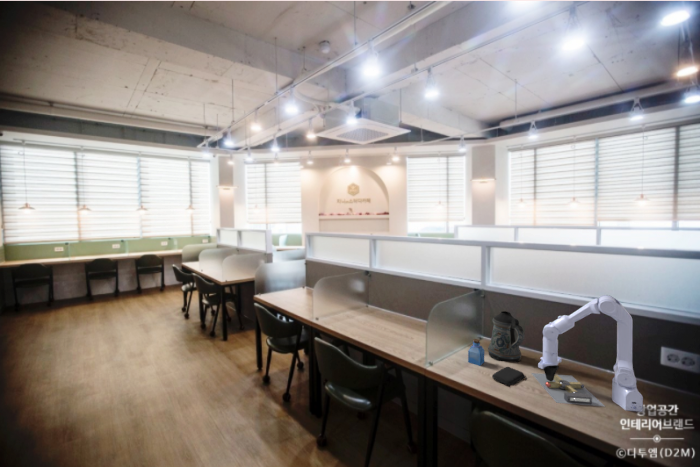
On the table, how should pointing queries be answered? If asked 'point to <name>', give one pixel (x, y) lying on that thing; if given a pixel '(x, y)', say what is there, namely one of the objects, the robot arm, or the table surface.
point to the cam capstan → (564, 384)
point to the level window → (578, 398)
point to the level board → (559, 393)
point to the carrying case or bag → (508, 376)
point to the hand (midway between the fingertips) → (549, 380)
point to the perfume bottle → (476, 353)
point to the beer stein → (506, 338)
